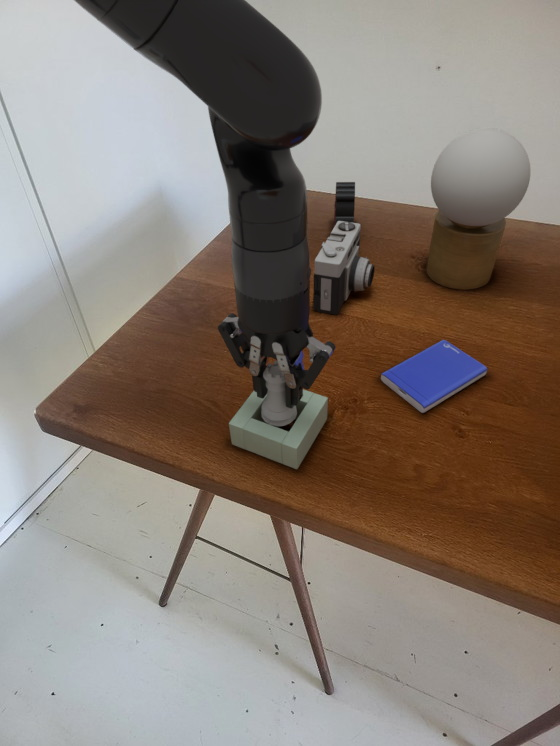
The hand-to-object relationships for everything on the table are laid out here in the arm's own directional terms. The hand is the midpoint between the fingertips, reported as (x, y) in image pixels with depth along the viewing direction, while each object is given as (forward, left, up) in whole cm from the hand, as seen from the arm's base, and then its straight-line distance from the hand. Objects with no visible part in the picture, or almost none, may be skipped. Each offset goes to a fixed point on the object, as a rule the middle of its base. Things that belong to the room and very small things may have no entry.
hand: (278, 397), depth 63 cm
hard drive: (+15, +18, -6) cm, 24 cm away
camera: (-4, +33, -6) cm, 34 cm away
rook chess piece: (0, 0, -3) cm, 3 cm away
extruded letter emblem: (-12, +51, -6) cm, 53 cm away
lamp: (+12, +45, -6) cm, 47 cm away
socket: (0, 0, -6) cm, 6 cm away
